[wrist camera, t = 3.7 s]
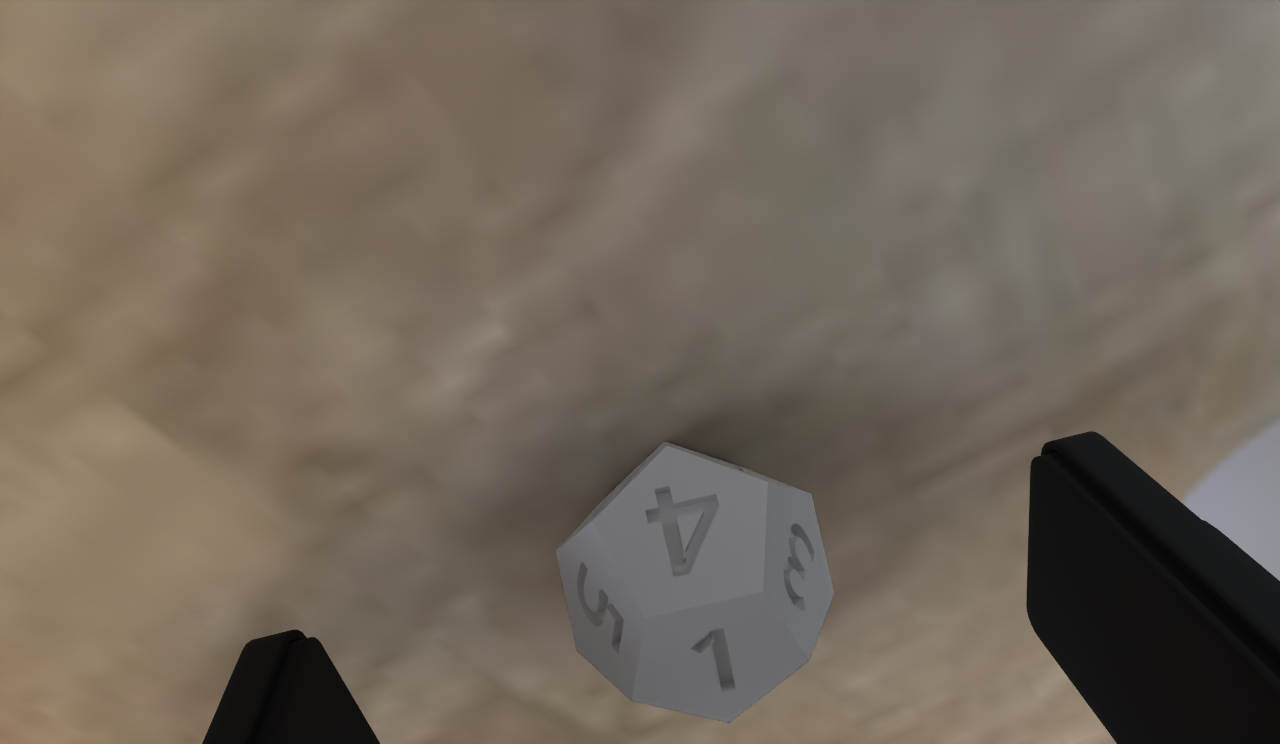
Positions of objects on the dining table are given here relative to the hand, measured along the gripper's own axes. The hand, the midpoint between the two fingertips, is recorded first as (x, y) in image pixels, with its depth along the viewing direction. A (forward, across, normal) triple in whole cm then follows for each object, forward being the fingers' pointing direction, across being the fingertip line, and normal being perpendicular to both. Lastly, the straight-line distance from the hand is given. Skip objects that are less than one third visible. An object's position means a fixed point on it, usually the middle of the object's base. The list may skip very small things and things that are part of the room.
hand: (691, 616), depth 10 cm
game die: (+2, 0, 0) cm, 2 cm away
